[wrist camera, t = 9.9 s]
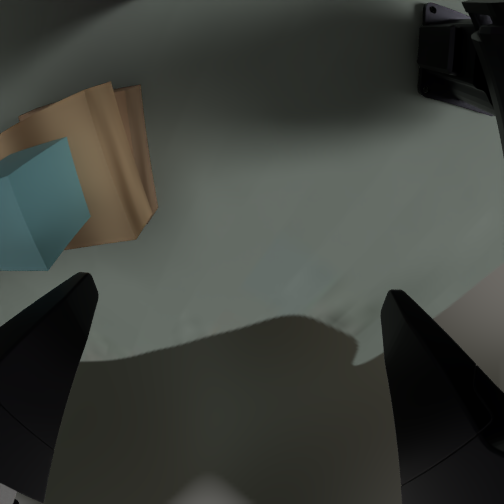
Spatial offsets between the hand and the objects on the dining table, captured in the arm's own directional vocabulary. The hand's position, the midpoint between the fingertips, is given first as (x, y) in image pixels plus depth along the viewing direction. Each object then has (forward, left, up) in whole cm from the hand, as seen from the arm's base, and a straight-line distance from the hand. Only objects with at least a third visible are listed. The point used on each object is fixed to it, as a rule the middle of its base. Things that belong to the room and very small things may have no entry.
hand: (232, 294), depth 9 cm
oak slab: (+12, 0, -11) cm, 16 cm away
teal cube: (+12, 0, -8) cm, 14 cm away
